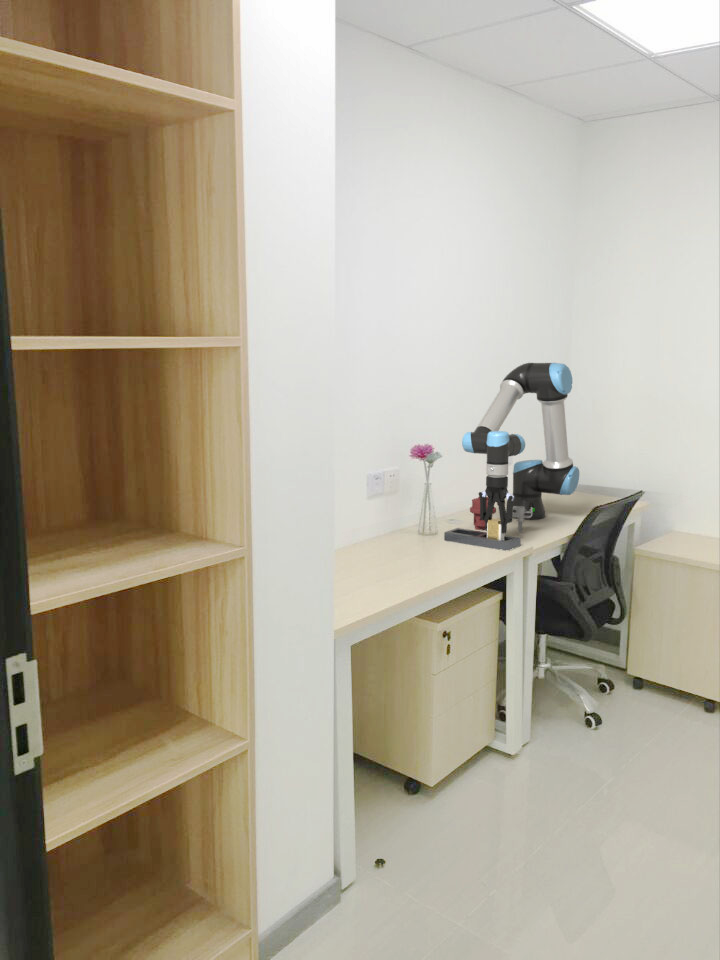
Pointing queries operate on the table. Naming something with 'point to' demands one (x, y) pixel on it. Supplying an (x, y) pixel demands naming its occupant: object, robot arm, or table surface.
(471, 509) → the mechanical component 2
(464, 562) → the table surface
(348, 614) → the table surface
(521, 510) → the mechanical component
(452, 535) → the rack frame
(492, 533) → the brushed brass bar
